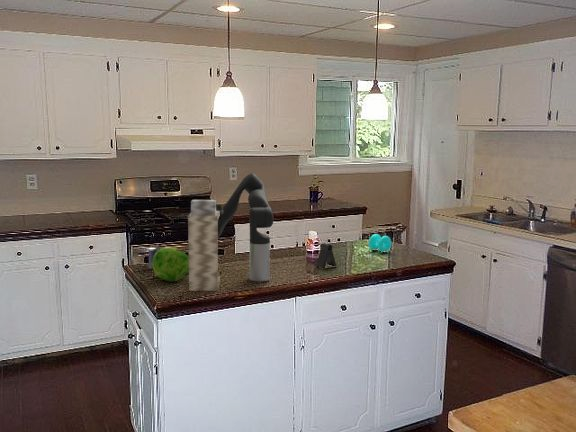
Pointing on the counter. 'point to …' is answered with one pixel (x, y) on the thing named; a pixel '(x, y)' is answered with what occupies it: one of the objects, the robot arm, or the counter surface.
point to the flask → (152, 253)
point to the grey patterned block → (203, 207)
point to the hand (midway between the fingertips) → (206, 203)
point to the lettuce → (170, 264)
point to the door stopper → (325, 256)
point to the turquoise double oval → (380, 242)
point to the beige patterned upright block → (203, 252)
